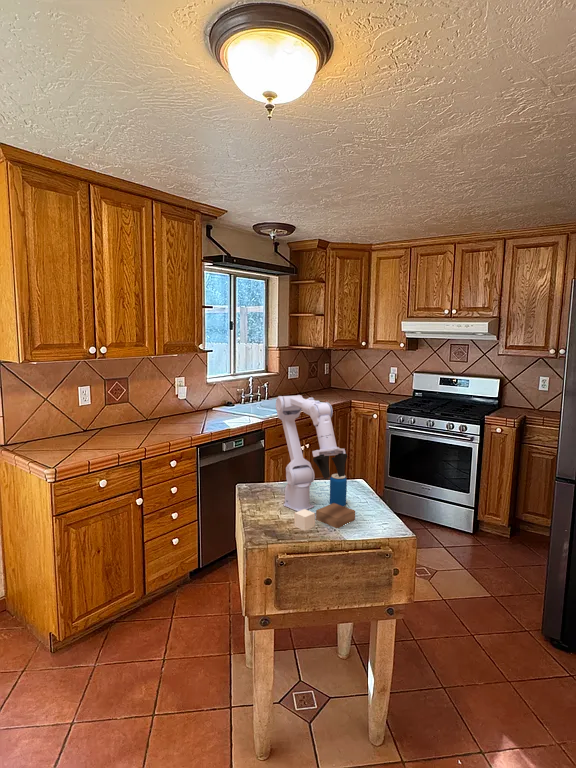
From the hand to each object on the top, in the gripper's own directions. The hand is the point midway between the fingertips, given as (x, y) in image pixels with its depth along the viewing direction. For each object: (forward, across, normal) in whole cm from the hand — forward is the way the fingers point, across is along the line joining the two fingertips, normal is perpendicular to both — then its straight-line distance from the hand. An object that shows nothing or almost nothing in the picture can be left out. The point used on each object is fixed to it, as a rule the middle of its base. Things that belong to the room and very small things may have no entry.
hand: (334, 477), depth 150 cm
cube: (+14, 0, +18) cm, 23 cm away
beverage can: (+9, +22, +21) cm, 32 cm away
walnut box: (+14, +12, +14) cm, 23 cm away
